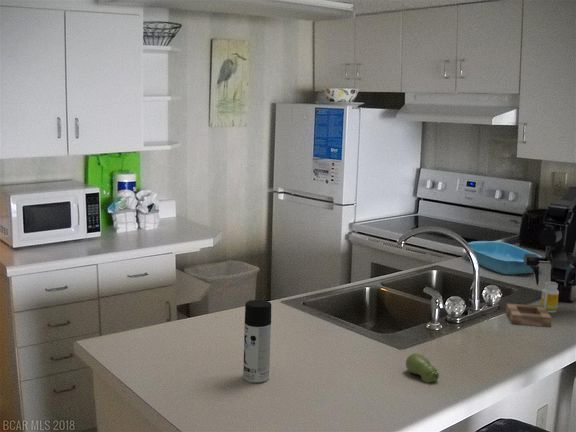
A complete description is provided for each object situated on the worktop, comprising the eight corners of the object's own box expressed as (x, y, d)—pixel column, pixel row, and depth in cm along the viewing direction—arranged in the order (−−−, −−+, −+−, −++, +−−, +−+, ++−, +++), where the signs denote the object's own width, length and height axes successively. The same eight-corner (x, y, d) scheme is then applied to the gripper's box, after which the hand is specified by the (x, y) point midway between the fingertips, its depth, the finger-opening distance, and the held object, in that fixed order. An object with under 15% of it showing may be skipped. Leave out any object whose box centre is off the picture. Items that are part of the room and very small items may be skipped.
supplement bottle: (536, 309, 237) (539, 282, 235) (545, 306, 241) (548, 280, 239) (551, 314, 233) (554, 286, 231) (559, 311, 236) (562, 284, 235)
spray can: (242, 372, 180) (244, 299, 176) (269, 372, 180) (270, 299, 176) (243, 383, 173) (244, 307, 169) (270, 383, 174) (272, 307, 170)
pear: (419, 348, 185) (445, 367, 178) (415, 365, 187) (441, 385, 179) (403, 352, 182) (429, 371, 174) (399, 369, 184) (425, 389, 176)
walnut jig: (505, 311, 234) (506, 303, 233) (542, 314, 232) (543, 305, 232) (512, 324, 222) (512, 315, 222) (551, 326, 221) (552, 318, 220)
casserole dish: (454, 256, 307) (455, 240, 305) (497, 253, 314) (498, 238, 312) (504, 280, 273) (505, 262, 271) (551, 276, 280) (553, 259, 278)
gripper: (532, 245, 225) (527, 290, 229) (592, 248, 223) (586, 294, 226) (525, 237, 236) (521, 281, 239) (582, 240, 234) (577, 284, 237)
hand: (551, 285), depth 235 cm, fingers open, 9 cm apart
